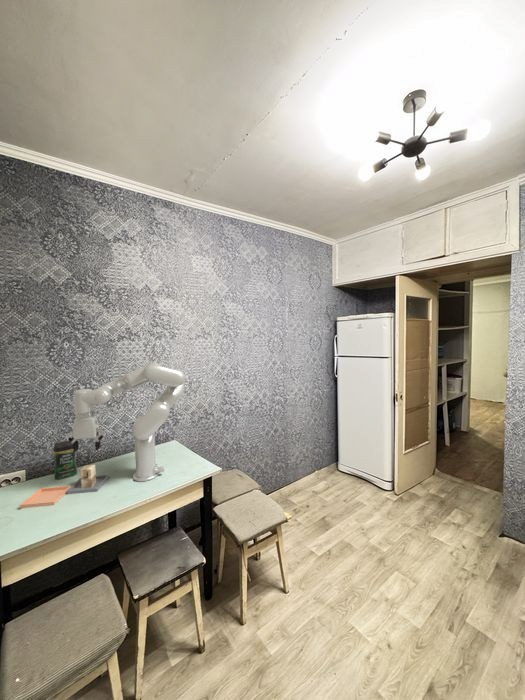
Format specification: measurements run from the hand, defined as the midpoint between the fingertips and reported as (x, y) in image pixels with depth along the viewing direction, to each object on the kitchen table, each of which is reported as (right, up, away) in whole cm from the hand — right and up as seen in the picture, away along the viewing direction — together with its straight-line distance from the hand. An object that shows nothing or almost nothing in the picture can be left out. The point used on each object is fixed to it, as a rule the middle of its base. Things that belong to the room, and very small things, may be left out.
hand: (87, 449), depth 133 cm
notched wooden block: (0, -18, +1) cm, 18 cm away
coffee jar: (-18, -18, +12) cm, 28 cm away
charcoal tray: (0, -18, +1) cm, 18 cm away
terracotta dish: (-12, -19, -9) cm, 24 cm away
